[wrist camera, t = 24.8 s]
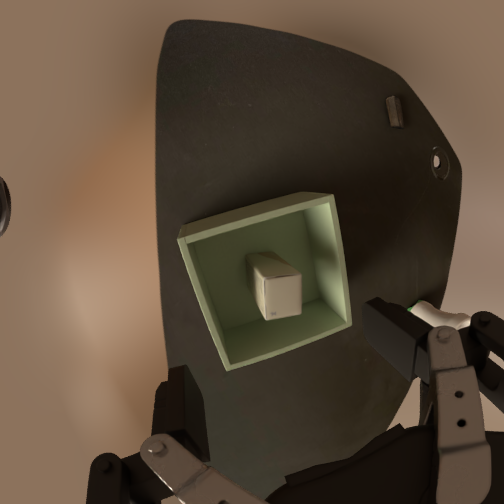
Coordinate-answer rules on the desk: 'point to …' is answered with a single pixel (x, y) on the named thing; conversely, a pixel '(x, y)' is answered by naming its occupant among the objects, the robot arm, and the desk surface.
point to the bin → (288, 248)
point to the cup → (439, 316)
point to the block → (395, 112)
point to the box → (274, 285)
